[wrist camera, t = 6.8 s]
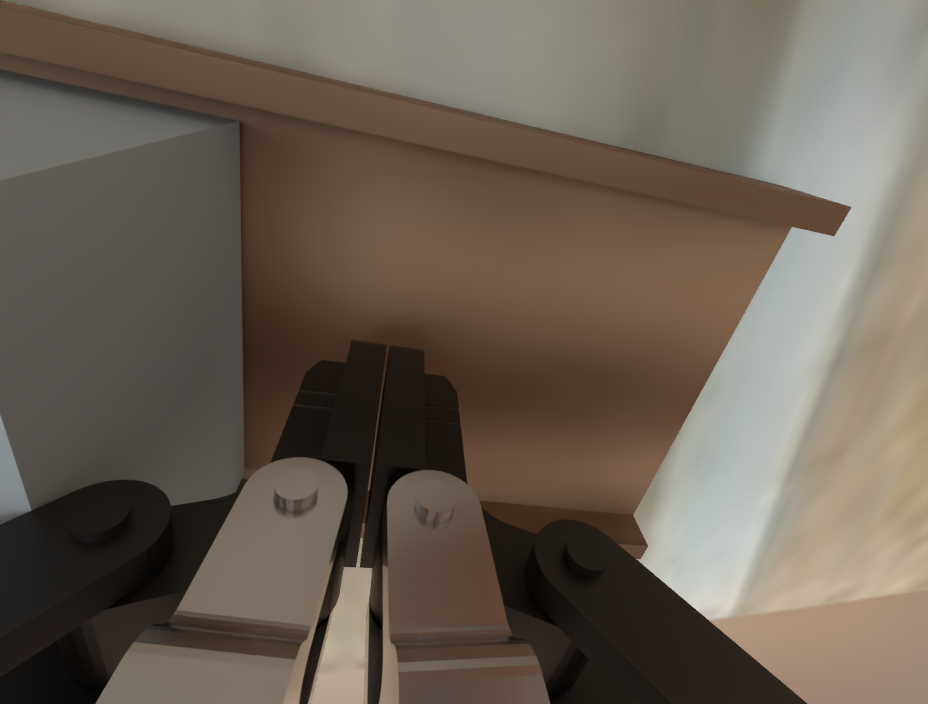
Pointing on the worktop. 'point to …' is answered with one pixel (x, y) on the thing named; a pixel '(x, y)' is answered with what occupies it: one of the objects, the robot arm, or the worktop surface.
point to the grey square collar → (117, 296)
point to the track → (464, 263)
